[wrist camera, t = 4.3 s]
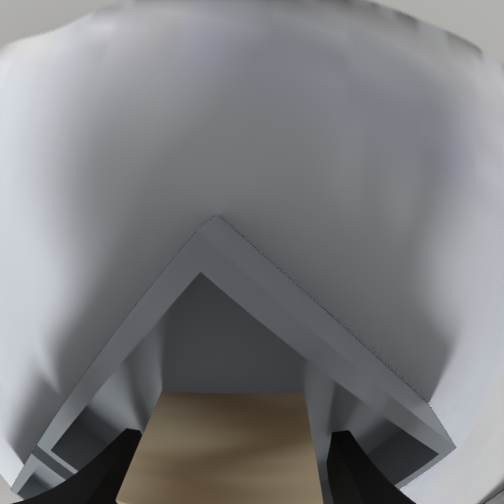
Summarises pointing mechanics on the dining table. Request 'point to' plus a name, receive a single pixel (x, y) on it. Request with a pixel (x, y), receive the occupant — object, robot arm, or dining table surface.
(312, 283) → the dining table surface
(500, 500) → the supplement box
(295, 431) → the letter cube
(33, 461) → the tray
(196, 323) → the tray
